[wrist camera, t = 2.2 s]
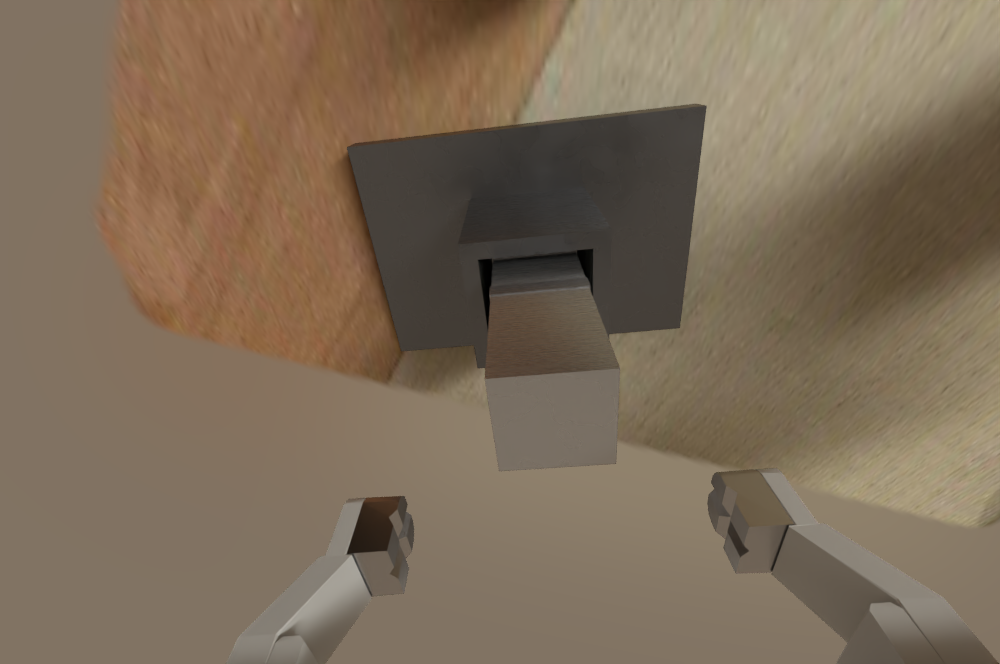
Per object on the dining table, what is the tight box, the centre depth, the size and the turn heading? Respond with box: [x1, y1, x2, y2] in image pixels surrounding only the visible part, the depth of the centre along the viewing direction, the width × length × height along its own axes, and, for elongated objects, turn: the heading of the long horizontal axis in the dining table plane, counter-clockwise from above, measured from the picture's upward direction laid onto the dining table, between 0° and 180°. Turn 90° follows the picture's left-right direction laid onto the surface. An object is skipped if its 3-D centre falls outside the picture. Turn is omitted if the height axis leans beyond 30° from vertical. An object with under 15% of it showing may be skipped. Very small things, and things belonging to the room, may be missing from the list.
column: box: [485, 250, 620, 471], centre depth 21 cm, size 4×4×16 cm
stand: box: [347, 104, 706, 368], centre depth 25 cm, size 20×14×10 cm
